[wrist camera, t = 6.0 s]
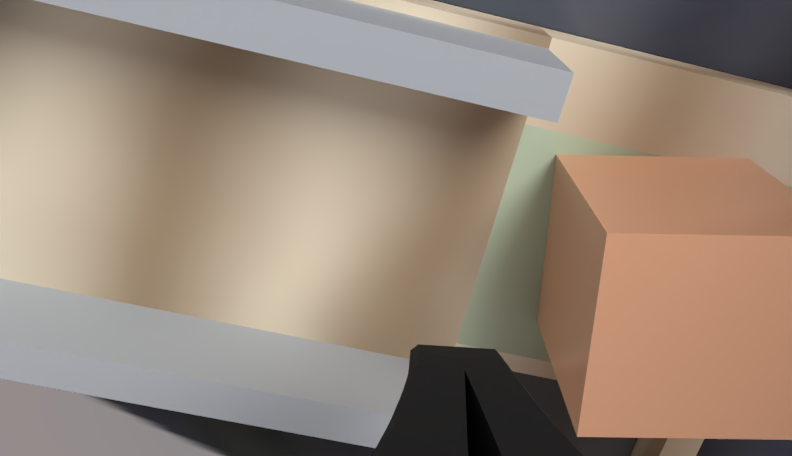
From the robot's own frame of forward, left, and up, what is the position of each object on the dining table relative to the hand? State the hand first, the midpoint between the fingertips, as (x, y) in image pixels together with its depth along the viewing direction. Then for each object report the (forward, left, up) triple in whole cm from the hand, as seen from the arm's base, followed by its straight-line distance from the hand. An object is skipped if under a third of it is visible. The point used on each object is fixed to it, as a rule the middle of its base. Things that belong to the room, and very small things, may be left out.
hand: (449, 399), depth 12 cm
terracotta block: (-5, -1, -7) cm, 9 cm away
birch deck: (+2, +2, -8) cm, 9 cm away
